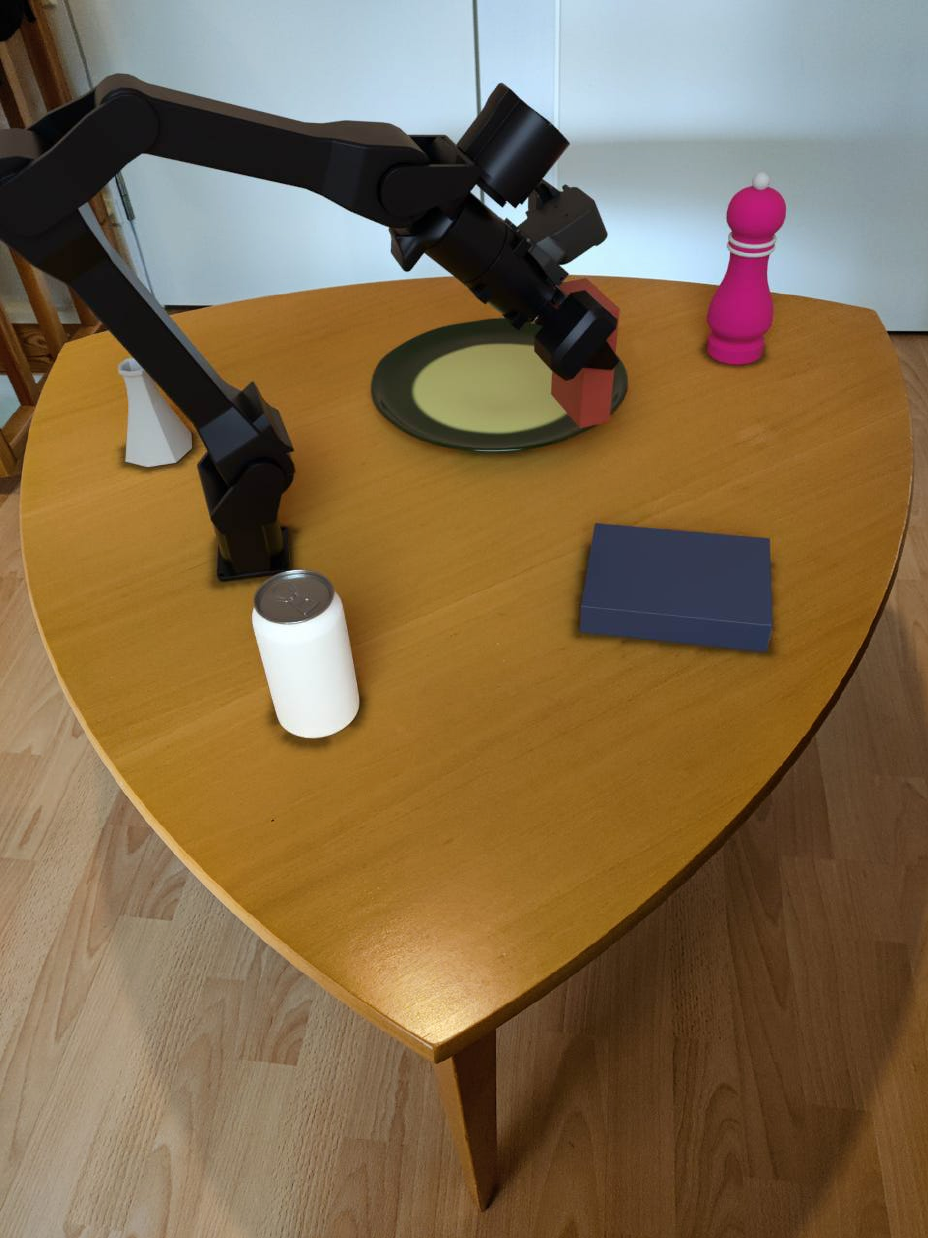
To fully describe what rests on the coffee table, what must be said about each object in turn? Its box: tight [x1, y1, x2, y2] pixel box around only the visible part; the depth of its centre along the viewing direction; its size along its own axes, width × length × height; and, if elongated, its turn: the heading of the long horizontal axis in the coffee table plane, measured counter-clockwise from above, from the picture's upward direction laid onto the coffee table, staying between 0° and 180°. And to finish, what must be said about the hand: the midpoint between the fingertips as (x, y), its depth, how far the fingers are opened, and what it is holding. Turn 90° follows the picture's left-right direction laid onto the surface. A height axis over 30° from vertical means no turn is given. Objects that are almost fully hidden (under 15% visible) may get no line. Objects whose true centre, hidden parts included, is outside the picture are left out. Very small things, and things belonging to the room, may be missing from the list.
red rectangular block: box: [551, 277, 621, 428], centre depth 89 cm, size 3×6×11 cm, turn 21°
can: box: [251, 568, 360, 739], centre depth 73 cm, size 6×6×12 cm
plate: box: [370, 317, 629, 453], centre depth 109 cm, size 28×28×2 cm
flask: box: [117, 357, 193, 468], centre depth 102 cm, size 7×7×10 cm
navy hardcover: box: [579, 522, 774, 653], centre depth 84 cm, size 15×11×3 cm
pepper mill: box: [706, 171, 787, 366], centre depth 108 cm, size 7×7×20 cm
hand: (597, 347), depth 90 cm, fingers closed on red rectangular block, 6 cm apart
